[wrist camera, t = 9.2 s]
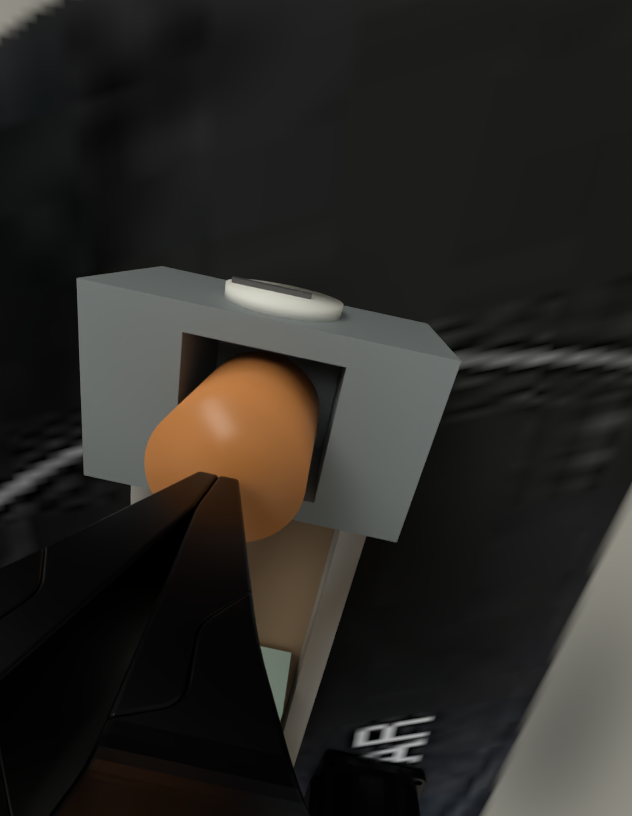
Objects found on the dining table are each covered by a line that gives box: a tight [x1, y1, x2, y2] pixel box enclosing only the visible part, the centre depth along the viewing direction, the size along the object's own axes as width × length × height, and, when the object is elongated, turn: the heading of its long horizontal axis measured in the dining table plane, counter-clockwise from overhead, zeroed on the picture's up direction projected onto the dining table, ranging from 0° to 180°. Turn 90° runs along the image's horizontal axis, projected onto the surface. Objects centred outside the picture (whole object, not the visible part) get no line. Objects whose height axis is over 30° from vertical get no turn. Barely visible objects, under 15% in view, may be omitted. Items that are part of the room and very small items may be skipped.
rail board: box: [131, 485, 366, 768], centre depth 19 cm, size 9×18×4 cm, turn 169°
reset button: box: [144, 351, 320, 542], centre depth 11 cm, size 4×4×4 cm
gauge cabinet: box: [77, 266, 461, 542], centre depth 14 cm, size 10×6×5 cm, turn 79°
